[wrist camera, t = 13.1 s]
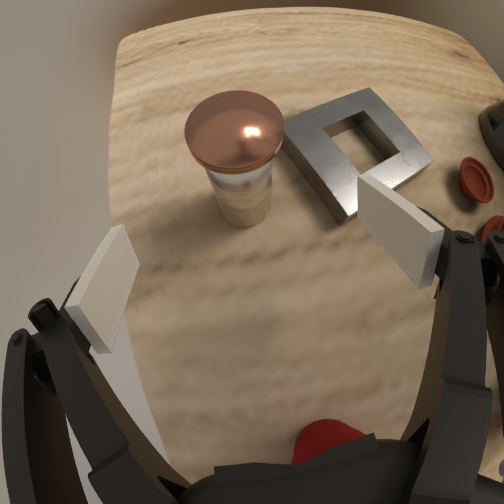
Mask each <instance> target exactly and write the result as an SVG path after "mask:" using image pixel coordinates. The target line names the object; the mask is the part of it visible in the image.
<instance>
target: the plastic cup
mask: <svg viewBox="0 0 504 504" xmlns="http://www.w3.org/2000/svg"><path fill="white" fill-rule="evenodd" d="M363 436H366V434H364V433H362V432H360V431H359V430H356V429H354V428H352V427H350V426H348V425H347V424H345V423H342V422H340V421H338V420H329V419H324V420H320V421H317V422H314V423H312V424H311V425H309V426H307V427H306V428H304V430H303V431H302V432H301V434H300V435H299V436H298V438H297V441H296V444H295V448H294V456H293V459H292V464H291V465H296V464H300V463H302V462H305V461H307V460H309V459H311V458H313V457H315V456H317V455H319V454H321V453H323V452H324V451H326V450H328V449H330V448H332V447H334V446H336V445H338V444H341V443H345V442H348V441H351V440H354V439H357V438H360V437H363ZM376 440H377V439H376Z"/></svg>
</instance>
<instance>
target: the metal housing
mask: <svg viewBox="0 0 504 504" xmlns="http://www.w3.org/2000/svg"><path fill="white" fill-rule="evenodd" d="M356 125H357V126H358V127H359V128H360V129H361V130H362V131H363V133H364V134H365V135H366V136H367V137H368V138H369V139H370V141H371V142H372V143H373V144H374V145H375V147H376V148H377V149H378V150H379V151H380V153H381V154H382V155H383V156H384V158H385V159H386V160H385V161H384V162H382V163H380V164H378V165H377V166H375V167H373V168H371V169H370V170H368V171H366V172H364V173H363V174H361V175H366V174H369V175H371V176H372V177H374V178H376V179H377V180H379V181H380V182H382V183H383V184H385V185H386V186H388V187H389V188H391V189H392V190H393V191H395V190H396V189H398V188H399V187H401V186H402V185H404V184H405V183H407V182H408V181H410V180H411V179H413V178H414V177H416V176H417V175H419V174H420V173H422V172H423V171H424V170H425V169H426V168H427V167H428V166H429V165H430V164H431V163H432V162H433V161H434V160H433V159H432V157H431V156H430V155H429V153H428V152H427V151H426V149H425V148H424V147H423V146H422V144H421V143H420V142H419V141H418V139H417V138H416V137H415V136H414V135H413V133H412V132H411V131H410V130H409V129H408V128H407V126H406V125H405V124H404V123H403V122H402V121H401V120H400V119H399V117H398V116H397V115H396V114H395V113H394V112H393V111H392V110H391V109H390V108H389V107H388V106H387V105H386V104H385V103H384V102H383V100H382V99H381V98H380V97H379V96H378V95H377V94H376V93H375V92H373V91H372V90H371V89H370V88H366V89H363V90H360V91H357V92H354V93H351V94H349V95H346V96H343V97H340V98H338V99H335V100H332V101H330V102H327V103H325V104H322V105H320V106H317V107H315V108H312V109H310V110H307V111H305V112H302V113H300V114H298V115H295V116H293V117H291V118H288V119H286V120H284V134H283V141H282V145H281V146H282V148H283V149H284V150H285V151H286V153H287V154H288V155H289V157H290V158H291V159H292V160H293V162H294V163H295V164H296V166H297V167H298V168H299V169H300V171H301V172H302V173H303V175H304V176H305V177H306V179H307V180H308V181H309V183H310V184H311V185H312V187H313V188H314V189H315V191H316V192H317V194H318V195H319V196H320V198H321V199H322V200H323V202H324V203H325V205H326V206H327V208H328V209H329V210H330V212H331V213H332V215H333V216H334V218H335V219H336V220H337V222H338V223H339V225H340V226H341V225H342V224H344V223H345V222H347V221H349V220H350V219H352V218H353V217H355V216H356V215H357V176H359V175H360V174H359V172H358V171H357V170H356V169H355V167H354V166H353V165H352V163H351V162H350V161H349V160H348V158H347V157H346V156H345V155H344V154H343V152H342V151H341V150H340V149H339V147H338V146H337V145H336V144H335V143H334V142H333V140H332V139H331V138H330V137H332V136H334V135H337V134H339V133H341V132H343V131H345V130H347V129H350V128H352V127H354V126H356Z"/></svg>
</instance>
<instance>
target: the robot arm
mask: <svg viewBox="0 0 504 504" xmlns="http://www.w3.org/2000/svg"><path fill="white" fill-rule="evenodd" d="M480 127H481V131H482V134H483V136H484V139H485V141H486V143H487V145H488V147H489V149H490V151H491V152H492V154H493V156H494V157H495V159H496V160H497V162H498V163H499V165H500V166H501V167H502V169H503V170H504V100H502V101H500V102H497V103H495V104H493V105H490V106H488V107H487V108H486V109H485V110H484V111H483V112H482V114H481V115H480ZM357 220H358V221H359V222H360V223H361V224H362V225H363V226H364V227H365V228H366V229H367V230H368V231H369V232H370V234H371V235H372V236H373V237H374V238H375V239H376V240H377V241H378V242H379V243H380V244H381V246H382V247H383V248H384V249H385V250H386V251H387V252H388V253H389V254H390V256H391V257H392V258H393V259H394V260H395V261H396V263H397V264H398V265H399V266H400V267H401V268H402V270H403V271H404V272H405V273H406V274H407V275H408V277H409V278H410V279H411V280H412V282H413V283H414V284H415V285H416V286H417V288H418V289H421V288H424V287H426V286H429V285H432V282H433V278H434V275H435V274H436V275H437V276H438V277H439V278H440V279H439V283H438V286H437V290H436V293H435V296H434V299H436V307H435V315H434V322H433V328H432V334H431V340H430V345H429V351H428V356H427V360H426V365H425V369H424V373H423V378H422V381H421V385H420V389H419V393H418V396H417V400H416V403H415V406H414V410H413V413H412V416H411V419H410V421H409V423H408V425H407V427H406V429H405V431H404V433H403V435H402V437H401V439H400V440H395V439H377V440H376V437H375V434H374V433H371V434H368V435H366V436H363V437H360V438H357V439H354V440H351V441H348V442H345V443H341V444H338V445H336V446H334V447H332V448H330V449H328V450H326V451H324V452H323V453H321V454H319V455H317V456H315V457H313V458H311V459H309V460H307V461H305V462H302V463H300V464H296V465H284V464H264V463H247V464H238V465H228V466H214V472H215V474H213V475H210V476H208V477H205V478H203V479H201V480H199V481H197V482H196V483H194V484H193V485H191V484H190V483H189V482H188V481H187V480H186V479H184V478H183V477H182V476H181V475H179V474H178V473H177V472H176V471H175V470H174V469H173V468H172V467H171V466H170V465H169V464H168V463H167V462H166V461H165V460H164V458H163V457H162V456H161V455H160V454H159V453H158V451H157V450H156V449H155V448H154V447H153V445H152V444H151V443H150V442H149V440H148V439H147V438H146V437H145V435H144V434H143V433H142V431H141V430H140V429H139V427H138V426H137V425H136V424H135V422H134V421H133V420H132V418H131V417H130V415H129V414H128V412H127V411H126V409H125V408H124V407H123V405H122V404H121V402H120V401H119V400H118V398H117V396H116V395H115V393H114V392H113V390H112V388H111V387H110V385H109V384H108V382H107V380H106V379H105V377H104V376H103V374H102V372H101V370H100V369H99V367H98V365H97V363H96V362H95V360H94V358H93V356H92V355H91V354H90V353H89V349H90V346H91V345H92V347H93V348H94V349H95V351H96V352H97V353H98V354H101V353H112V351H113V347H114V343H115V340H116V336H117V333H118V329H119V326H120V322H121V319H122V316H123V313H124V310H125V307H126V304H127V300H128V297H129V294H130V291H131V289H132V286H133V283H134V280H135V277H136V274H137V271H138V269H139V266H140V263H139V261H138V258H137V256H136V254H135V251H134V249H133V247H132V244H131V242H130V239H129V237H128V235H127V232H126V230H125V227H124V225H123V224H120V225H116V226H113V227H111V229H110V230H109V232H108V233H107V235H106V236H105V238H104V239H103V241H102V242H101V244H100V245H99V247H98V249H97V250H96V252H95V253H94V255H93V257H92V258H91V260H90V262H89V264H88V265H87V267H86V269H85V270H84V272H83V274H82V275H81V277H80V278H79V279H78V280H77V281H76V282H75V283H74V284H73V286H72V288H71V290H70V292H69V293H68V295H67V298H66V299H65V301H64V303H63V305H62V307H61V308H60V310H59V311H58V310H57V308H56V307H55V305H54V304H53V302H52V301H51V300H50V299H49V298H46V299H42V300H41V301H39V302H37V303H36V304H35V305H34V306H33V307H32V308H31V310H30V312H29V314H28V318H29V320H30V321H31V322H32V324H33V325H34V326H35V328H36V329H37V330H38V332H39V333H36V334H34V335H32V336H31V335H30V334H29V333H28V331H27V330H26V329H23V328H22V329H19V330H18V331H16V332H14V334H12V336H11V338H10V340H9V343H8V348H7V354H6V362H5V370H4V380H3V393H2V446H3V458H4V468H5V476H6V482H7V488H8V494H9V498H10V504H88V502H87V499H86V496H85V493H84V490H83V487H82V484H81V481H80V477H79V474H78V471H77V467H76V464H75V459H74V455H73V451H72V447H71V443H70V438H69V433H68V428H67V422H66V416H67V419H68V421H69V423H70V426H71V428H72V430H73V432H74V434H75V436H76V438H77V440H78V442H79V445H80V447H81V448H82V450H83V452H84V454H85V456H86V458H87V460H88V462H89V463H90V465H91V468H92V471H91V472H90V473H88V478H89V481H90V483H91V485H92V487H93V488H94V490H95V491H96V493H97V495H98V496H99V498H100V500H101V501H102V502H103V504H504V478H503V481H502V483H501V482H498V481H495V480H492V479H490V478H487V477H485V476H482V475H480V474H478V471H479V468H480V464H481V460H482V456H483V452H484V448H485V443H486V438H487V433H488V427H489V421H490V414H491V407H492V390H491V388H487V387H485V373H486V353H487V331H488V335H489V339H490V343H491V347H492V352H493V356H494V361H495V367H496V372H497V379H498V385H499V393H500V401H501V412H502V425H503V436H504V233H502V232H500V231H490V232H488V235H487V239H486V241H477V240H476V238H475V237H474V236H473V235H471V234H470V233H468V232H465V231H460V230H457V231H452V230H451V229H449V228H448V227H447V226H446V225H444V224H443V223H442V222H441V221H439V220H437V218H435V217H434V216H432V215H431V214H430V213H429V212H427V211H426V210H424V209H422V208H419V207H417V206H414V205H413V204H412V203H410V202H409V201H408V200H406V199H405V198H403V197H402V196H401V195H399V194H398V193H396V192H395V191H393V190H392V189H391V188H389V187H388V186H386V185H385V184H383V183H382V182H380V181H379V180H377V179H376V178H374V177H372V176H371V175H369V174H366V175H359V176H357ZM499 279H500V281H499ZM65 414H66V416H65ZM499 474H500V475H501V476H504V460H503V461H502V462H501V464H500V466H499Z"/></svg>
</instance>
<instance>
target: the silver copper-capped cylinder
mask: <svg viewBox="0 0 504 504" xmlns="http://www.w3.org/2000/svg"><path fill="white" fill-rule="evenodd" d="M283 134H284V120H283V116H282V114H281V112H280V110H279V109H278V107H277V106H276V105H275V104H274V103H273V102H272V101H270V100H269V99H268V98H266V97H264V96H262V95H259V94H257V93H253V92H248V91H227V92H223V93H219V94H216V95H214V96H211V97H209V98H207V99H206V100H204V101H203V102H201V103H200V104H199V105H198V106H196V108H195V109H194V110H193V111H192V112H191V114H190V115H189V117H188V119H187V122H186V125H185V139H186V142H187V145H188V147H189V150H190V152H191V154H192V156H193V157H194V158H195V160H196V161H197V162H198V163H199V164H200V165H202V166H203V167H205V169H206V172H207V175H208V177H209V180H210V183H211V185H212V188H213V191H214V193H215V196H216V199H217V201H218V204H219V206H220V209H221V212H222V214H223V216H224V218H225V219H226V220H227V221H228V222H229V223H231V224H232V225H235V226H238V227H252V226H255V225H257V224H259V223H260V222H261V221H263V220H264V218H265V217H266V216H267V214H268V212H269V208H270V198H271V185H272V172H273V158H274V157H275V155H276V154H277V153H278V151H279V149H280V147H281V145H282V141H283Z"/></svg>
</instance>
